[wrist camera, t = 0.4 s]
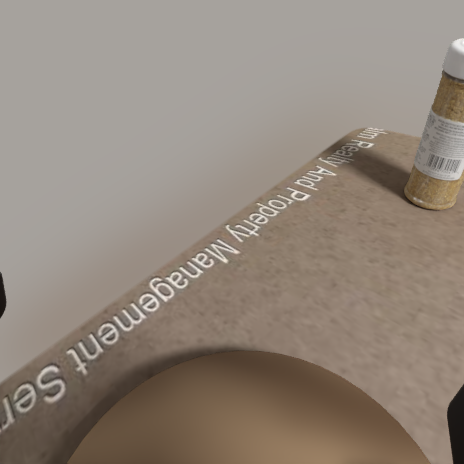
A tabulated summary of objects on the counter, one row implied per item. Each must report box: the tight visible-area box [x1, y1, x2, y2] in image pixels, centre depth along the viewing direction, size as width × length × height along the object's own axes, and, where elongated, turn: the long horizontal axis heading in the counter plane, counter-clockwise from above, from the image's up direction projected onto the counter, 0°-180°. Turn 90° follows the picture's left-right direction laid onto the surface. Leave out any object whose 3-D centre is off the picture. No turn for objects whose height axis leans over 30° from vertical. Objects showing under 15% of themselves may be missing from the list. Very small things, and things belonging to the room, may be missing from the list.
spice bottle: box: [404, 38, 464, 210], centre depth 34 cm, size 5×5×14 cm
